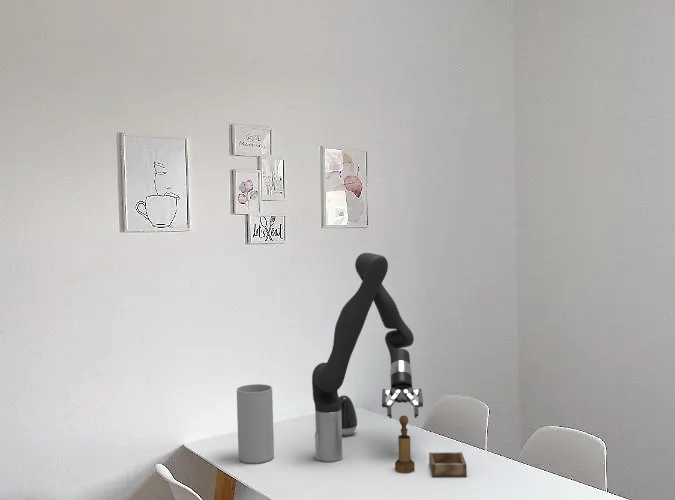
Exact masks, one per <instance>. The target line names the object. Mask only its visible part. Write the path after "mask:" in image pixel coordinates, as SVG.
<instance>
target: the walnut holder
mask: <svg viewBox="0 0 675 500" xmlns="http://www.w3.org/2000/svg"><path fill="white" fill-rule="evenodd" d="M428 457H429V461H428V463H429V468H430V472H431V473H430V474H431V478H467V476H468V474H467V472H468V471H467V463H466V459H465V457H464V455H463V452H459V451H458V452H453V451H452V452H446V451H445V452H429V453H428Z"/></svg>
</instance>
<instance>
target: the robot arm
mask: <svg viewBox="0 0 675 500" xmlns="http://www.w3.org/2000/svg"><path fill="white" fill-rule="evenodd" d="M354 266H355V267H354V268H355V271H356V273H357V275H358V277H359V278H360V280H361V284H360V285H359V288H358V289H357V291H356V292H355V293H354V295H352V297H350V298H349V300H348V301H347V302H346V303H345V304H344V306H343V307H342V309H341V311H340V313H339V316H338V318H337V320H336V324H335V326H334V331H333V332H334V335H333V343H332V344H333V345H332V348H331V353H330V355H329V357H328V360H327V362H320V363H318V364H317V365H316V366H315V367H314V369H313V371H312V374H311V387H312V400H313V403H314V415H315V417H314V418H315V432H314V438H315V439H314V445H315V446H314V447H315V449H314V450H315V461H319V462H325V463H327V462H329V463H330V462H337V461H338V462H339V461H340V460H342V459H343V436H342V415H341V401H340V399H339V397H340V396H339V393H338V390H340V388H341V387H342V385H343V383H344V380H345V377H346V373H347V370H348V366H349V363H350V360H351V357H352V355H353V352H354V349H355V347H356V344H357V343H358V339H359V337H360V334H361V333H362V330H363V328H364V325H365V323H366V319H367V317H368V314H369V312H370V309H371V307H372V305H373V302H374V305H375V307H376V309H377V312H378V314H379V317H380V319H381V322H382V325H383V326H384V328H386V329H390V331H388V332H387V333H386V334H385V336H384V341H385V344H386V347H387V350H388V352H389V356H390V358H389V359H390V389H389V390H386V388H383V389H382V392H381V393H382V395H381V407H382V408H386V410H387V411H386V414H387V417H389V419H393V417H392V416H393V415H392V414H393V413H392V408H393V406H395V404H396V403H398V404H400V403H404V404H406V403H407V404H408V403H409V404H410V405H411V406H413V415H414V419H417V417H419V413H420V412H419V408H423V407H424V400H423V399H424V398H423V393H422V392H423V390H422V388H418V389H414V388H413V378H412V377H413V376H412V367H411V357H410V352H409V351H408V350H407V349H405V348H408V347H411V346H412V345H413V343H414V339H415V338H414V334H413V332H412V330H411V329H410V328H409V326H408V324H406V323H405V321H404V320H403V318H402V316H401V314H400V311H399V309H398V307H397V304H396V302H395V300H394V299H393V297H392V296H391V295H390V294H389V292H388V290H386V287H384V285H383V281H384V279H385V278H386V276H387V274H388V269H389V263H388V260H387V258H386V257H385V256H384V255H381V254H377V253H372V252H362V253H360V254H359V255H358V256H357V258H356V259H355V264H354ZM389 395H390V396H391V397H390V399H389V400H388V401H387V400H386V399H387V398H388V397H389ZM414 395H415V396H416V397H418V401H417V400H416V399H415V397H414Z"/></svg>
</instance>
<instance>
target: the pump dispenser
mask: <svg viewBox="0 0 675 500" xmlns="http://www.w3.org/2000/svg"><path fill="white" fill-rule="evenodd" d="M339 399H340V401H341V415H342V435H343V436H342V437H346V436H345V435H348V436H350V435H352V434H354V433H355V431H356V429H357V427H358V417H357V413H356V409H355V406H354V403H353V401H352V399H351V398H350V397H349V396H348V395H345V394H344V395H340V396H339Z"/></svg>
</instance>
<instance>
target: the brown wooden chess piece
mask: <svg viewBox="0 0 675 500" xmlns="http://www.w3.org/2000/svg"><path fill="white" fill-rule="evenodd" d="M398 421H399V423H400V425H401V429H400V435H398V440H397V441H398V459H397V460H395V462H394V470H395V471H396V472H398V473H400V474H401V473H402V474H409V473H413V472H414V471H415V468H416V467H415V462H414V461H413V460H412V459H411V436H410V435H408V428H407V425H408V423H409V418H408V416H406V415H400V416H399V420H398Z"/></svg>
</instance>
